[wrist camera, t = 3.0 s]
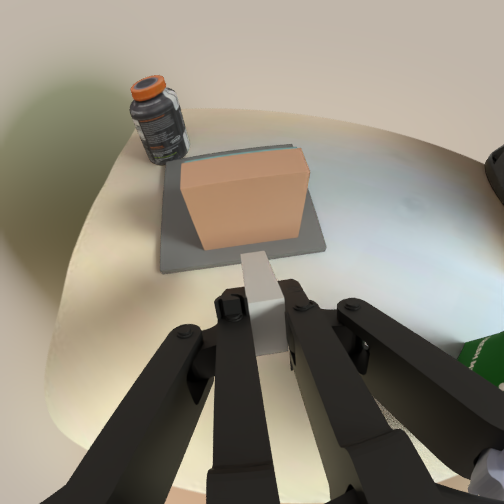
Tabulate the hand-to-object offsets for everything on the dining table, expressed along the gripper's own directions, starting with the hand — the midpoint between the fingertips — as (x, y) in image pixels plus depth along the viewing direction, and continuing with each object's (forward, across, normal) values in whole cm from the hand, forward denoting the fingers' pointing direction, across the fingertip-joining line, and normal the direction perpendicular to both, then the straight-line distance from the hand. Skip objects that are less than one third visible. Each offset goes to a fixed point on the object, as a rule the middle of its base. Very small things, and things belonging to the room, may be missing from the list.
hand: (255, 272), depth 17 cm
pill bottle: (+22, +8, -10) cm, 25 cm away
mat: (+14, +1, -3) cm, 14 cm away
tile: (+10, 0, 0) cm, 10 cm away
